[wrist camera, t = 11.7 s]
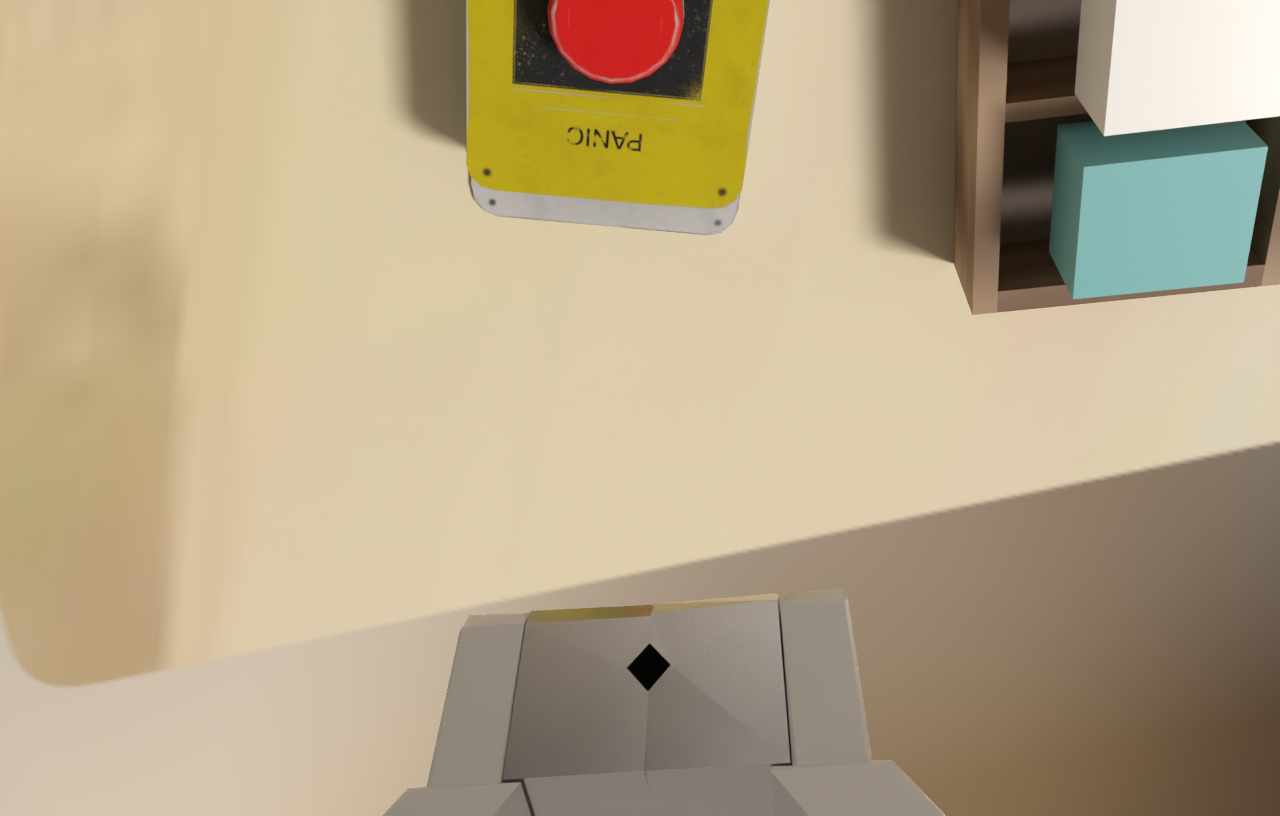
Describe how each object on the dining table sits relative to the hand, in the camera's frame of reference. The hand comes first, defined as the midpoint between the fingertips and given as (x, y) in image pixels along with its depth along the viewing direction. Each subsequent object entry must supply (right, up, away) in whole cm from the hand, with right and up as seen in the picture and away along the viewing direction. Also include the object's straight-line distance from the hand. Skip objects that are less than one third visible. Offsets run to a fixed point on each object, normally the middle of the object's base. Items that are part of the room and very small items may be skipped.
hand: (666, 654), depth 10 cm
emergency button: (-1, +15, +29) cm, 32 cm away
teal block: (+15, +10, +29) cm, 34 cm away
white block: (+14, +14, +24) cm, 31 cm away
